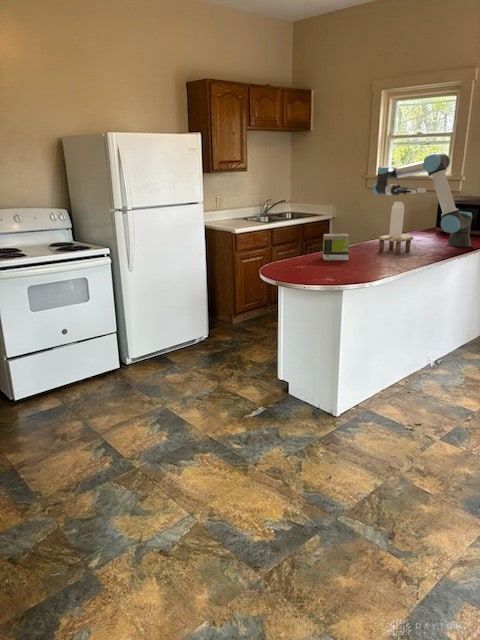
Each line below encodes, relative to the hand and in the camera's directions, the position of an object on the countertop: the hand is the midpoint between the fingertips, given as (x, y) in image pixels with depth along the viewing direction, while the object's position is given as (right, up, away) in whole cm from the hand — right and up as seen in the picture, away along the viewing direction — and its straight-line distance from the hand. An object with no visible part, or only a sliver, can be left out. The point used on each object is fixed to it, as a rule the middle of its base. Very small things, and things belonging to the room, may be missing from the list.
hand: (420, 191), depth 340 cm
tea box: (-67, -52, -38) cm, 93 cm away
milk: (-25, -35, -22) cm, 49 cm away
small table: (-24, -45, -19) cm, 54 cm away
